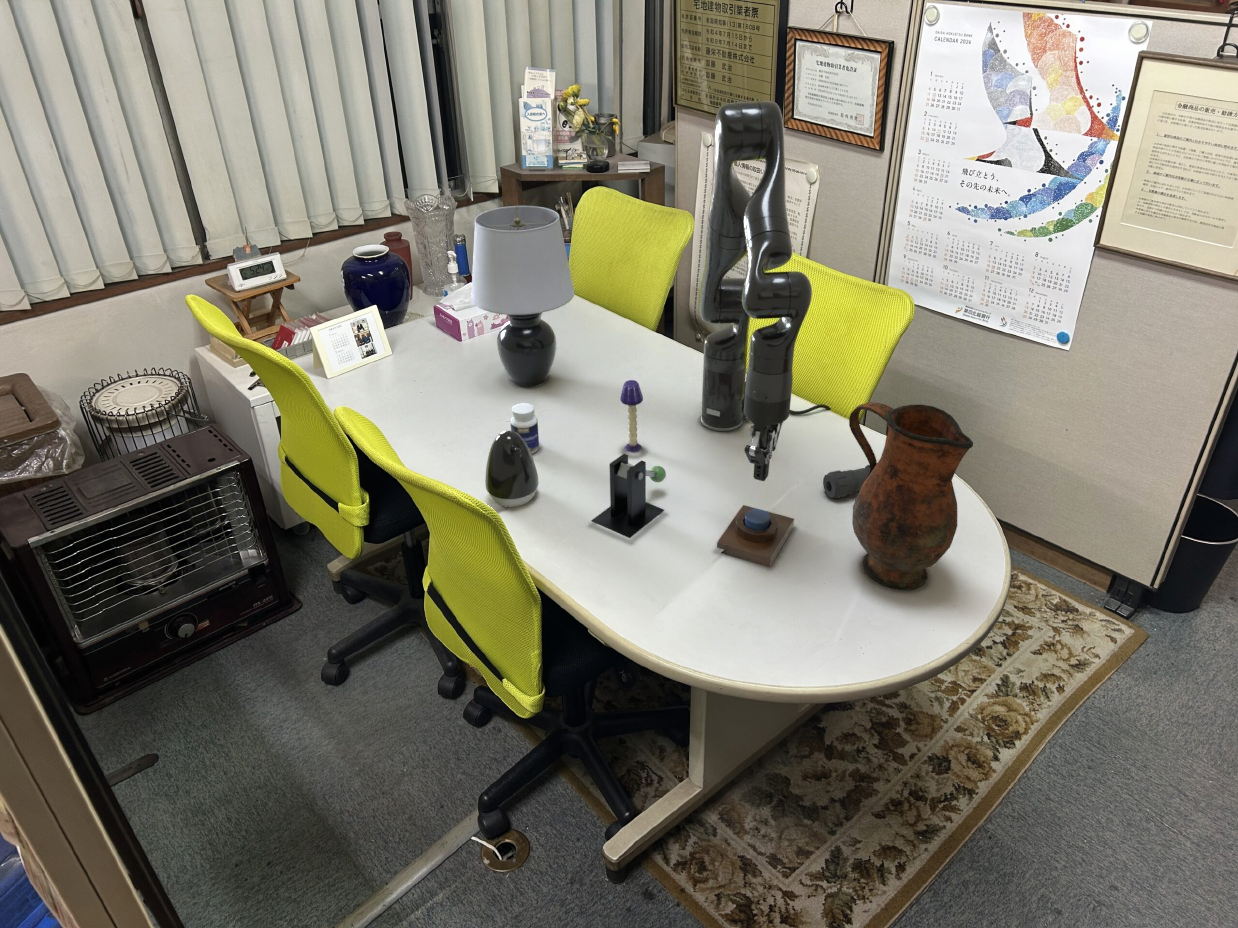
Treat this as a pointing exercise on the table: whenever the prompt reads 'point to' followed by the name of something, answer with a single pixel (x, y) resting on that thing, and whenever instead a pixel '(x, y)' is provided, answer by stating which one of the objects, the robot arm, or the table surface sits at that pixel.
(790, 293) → the robot arm
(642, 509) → the switch bracket
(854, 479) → the flashlight
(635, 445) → the toy lamp
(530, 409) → the pill bottle
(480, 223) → the lamp
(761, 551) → the button block
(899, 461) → the pitcher
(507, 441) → the black egg-shaped dome
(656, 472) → the switch lever
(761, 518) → the light button
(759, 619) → the table surface
